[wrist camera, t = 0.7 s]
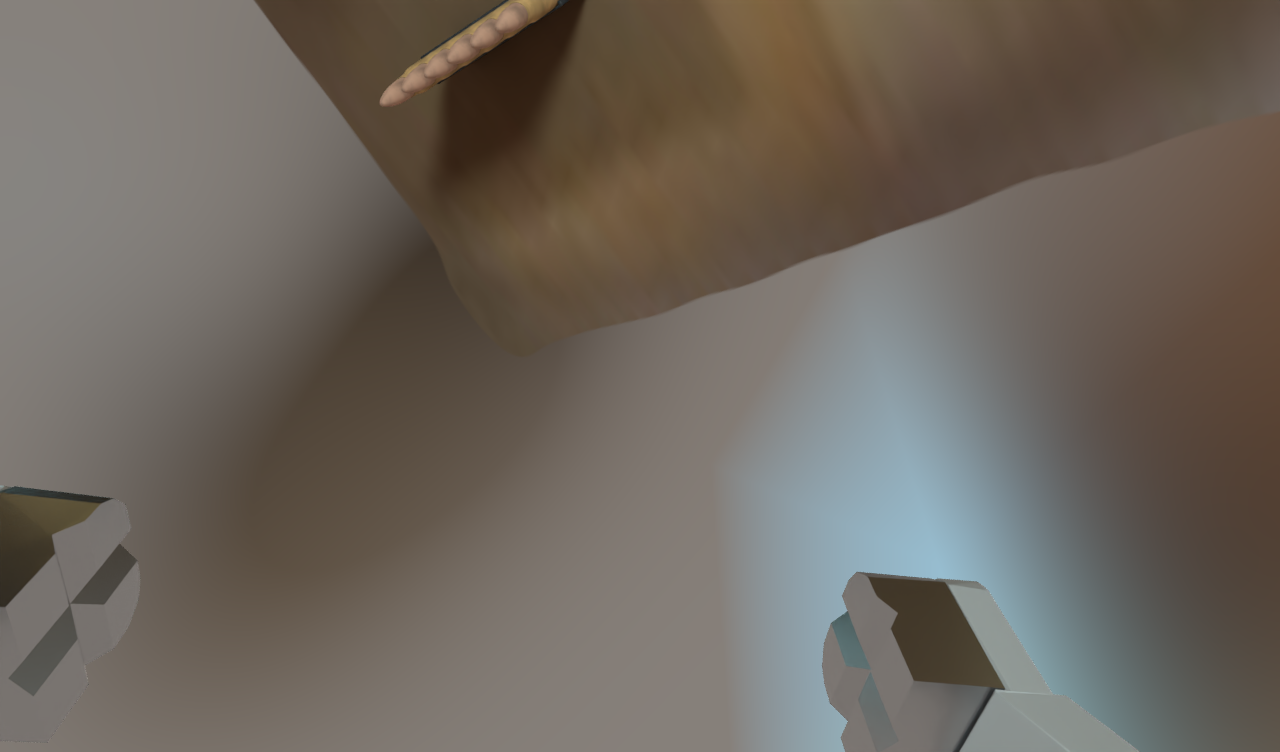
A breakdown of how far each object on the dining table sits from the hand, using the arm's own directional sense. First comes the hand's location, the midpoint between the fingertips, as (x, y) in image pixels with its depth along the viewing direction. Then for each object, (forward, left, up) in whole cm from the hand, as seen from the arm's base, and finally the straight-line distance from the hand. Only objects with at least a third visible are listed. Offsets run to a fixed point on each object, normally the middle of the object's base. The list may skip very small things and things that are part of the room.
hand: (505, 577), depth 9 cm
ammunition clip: (+8, -17, -45) cm, 49 cm away
